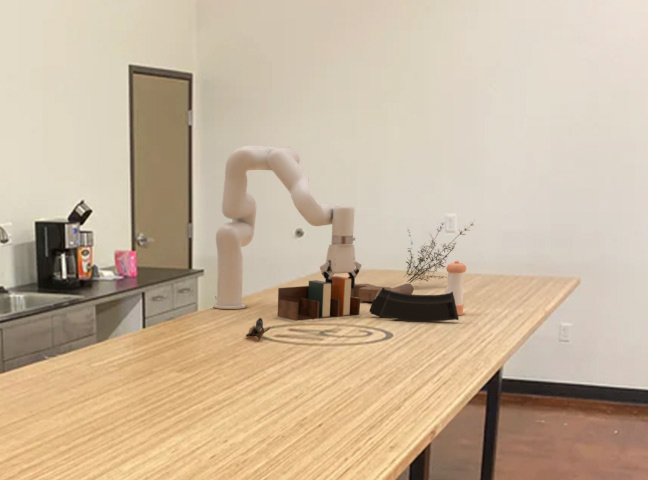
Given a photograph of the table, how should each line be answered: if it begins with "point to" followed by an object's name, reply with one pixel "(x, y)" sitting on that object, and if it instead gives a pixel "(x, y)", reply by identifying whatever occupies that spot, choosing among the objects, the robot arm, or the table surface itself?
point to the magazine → (414, 306)
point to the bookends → (376, 291)
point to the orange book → (342, 293)
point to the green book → (320, 296)
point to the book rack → (308, 305)
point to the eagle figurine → (257, 330)
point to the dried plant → (430, 259)
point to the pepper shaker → (456, 283)
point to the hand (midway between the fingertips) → (339, 289)
